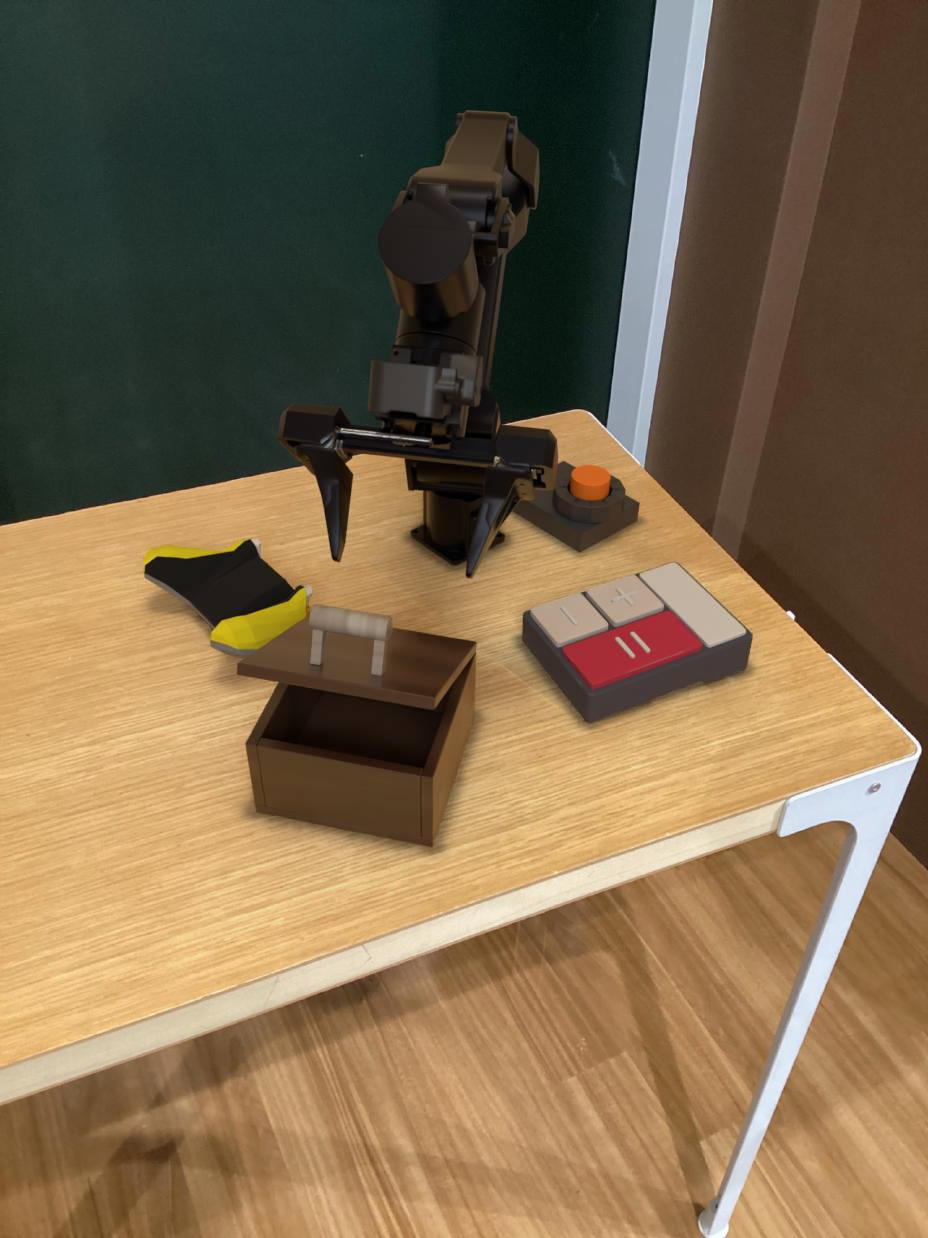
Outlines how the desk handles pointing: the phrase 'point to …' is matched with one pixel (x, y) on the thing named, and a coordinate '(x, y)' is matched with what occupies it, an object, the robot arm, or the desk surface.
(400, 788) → the chest
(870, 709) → the desk surface
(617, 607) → the calculator
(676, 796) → the desk surface
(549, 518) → the console
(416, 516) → the desk surface
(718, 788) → the desk surface
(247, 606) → the gaming controller
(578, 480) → the button
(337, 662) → the lid
